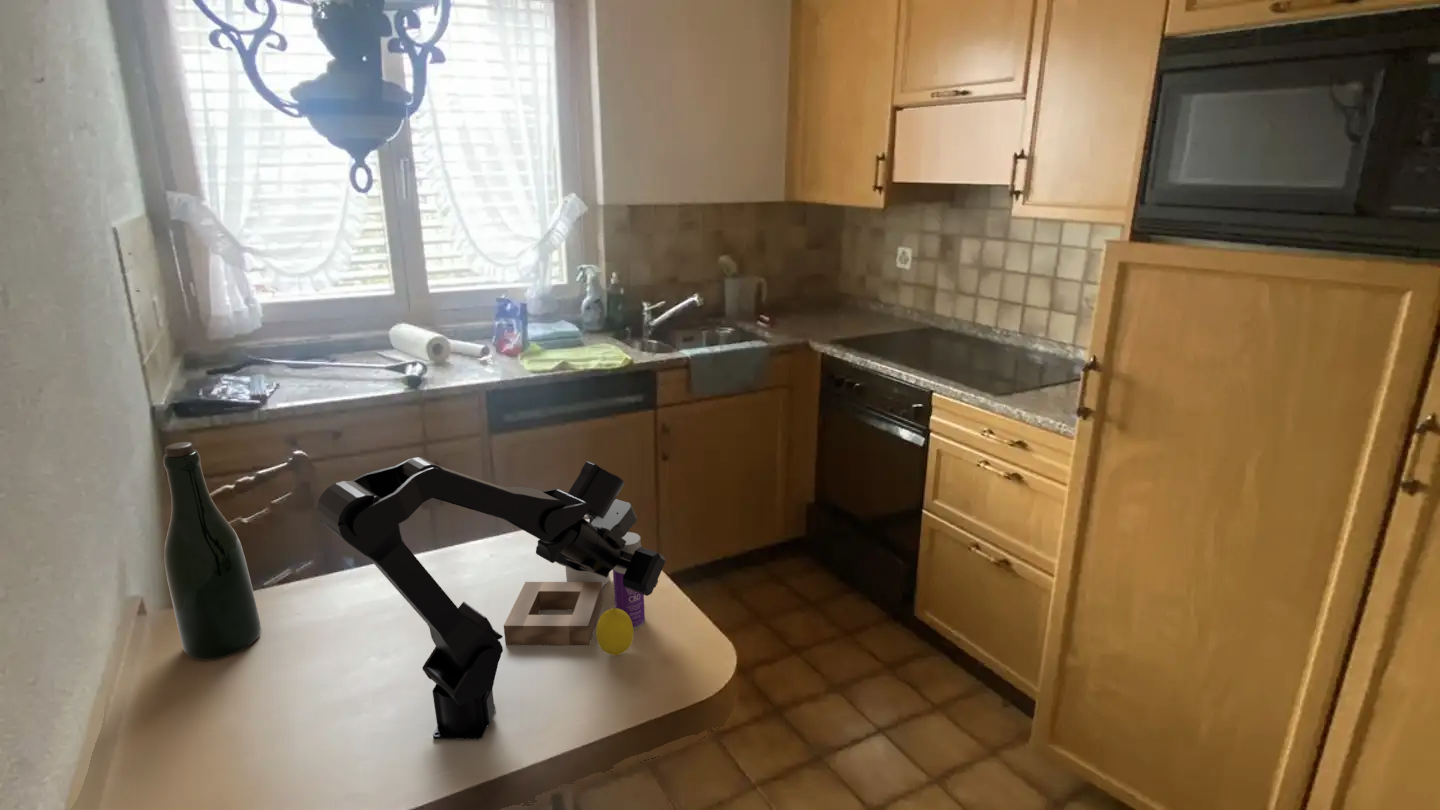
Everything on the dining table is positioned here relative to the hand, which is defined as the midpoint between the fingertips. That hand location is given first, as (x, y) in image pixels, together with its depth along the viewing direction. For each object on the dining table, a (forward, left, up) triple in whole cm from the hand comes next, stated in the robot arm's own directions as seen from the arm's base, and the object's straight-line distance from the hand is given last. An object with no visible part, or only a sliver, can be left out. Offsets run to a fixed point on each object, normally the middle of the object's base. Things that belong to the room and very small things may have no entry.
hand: (633, 575), depth 126 cm
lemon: (-2, -10, -8) cm, 13 cm away
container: (-1, -1, -8) cm, 8 cm away
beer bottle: (-64, -7, -8) cm, 65 cm away
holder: (-13, -1, -8) cm, 15 cm away
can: (-10, +11, -8) cm, 17 cm away
